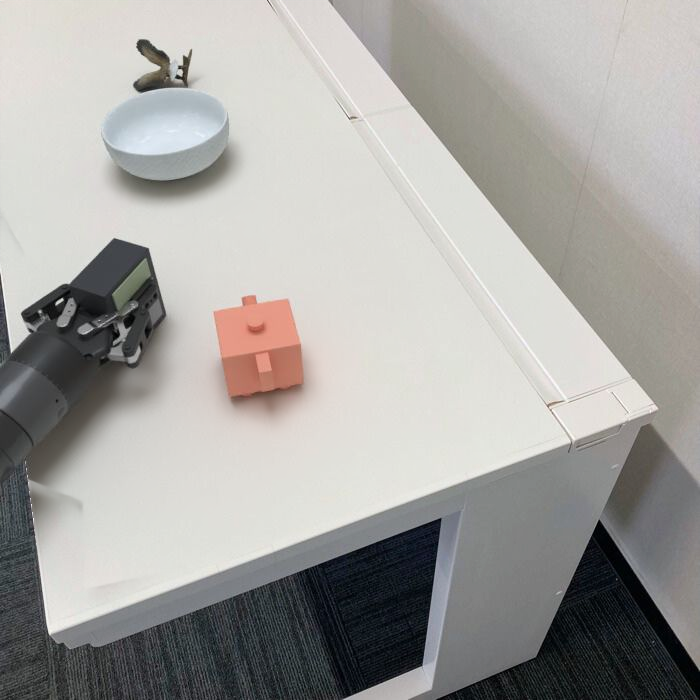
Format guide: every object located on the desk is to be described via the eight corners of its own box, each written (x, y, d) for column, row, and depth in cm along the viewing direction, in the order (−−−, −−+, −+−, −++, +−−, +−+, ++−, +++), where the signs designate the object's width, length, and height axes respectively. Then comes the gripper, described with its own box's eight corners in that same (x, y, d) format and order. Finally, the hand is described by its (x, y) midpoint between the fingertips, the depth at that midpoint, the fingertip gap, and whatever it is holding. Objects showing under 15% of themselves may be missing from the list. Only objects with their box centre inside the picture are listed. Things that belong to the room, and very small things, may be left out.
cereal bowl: (202, 117, 116) (194, 74, 111) (255, 172, 107) (249, 127, 102) (94, 154, 110) (81, 109, 105) (140, 215, 101) (128, 169, 95)
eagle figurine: (194, 62, 125) (138, 51, 124) (191, 38, 118) (131, 26, 117) (186, 105, 124) (129, 94, 123) (182, 84, 117) (122, 73, 116)
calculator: (93, 351, 85) (67, 285, 77) (134, 304, 90) (113, 237, 82) (128, 363, 84) (105, 297, 76) (168, 315, 88) (150, 248, 81)
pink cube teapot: (287, 323, 87) (281, 269, 81) (308, 404, 80) (304, 351, 74) (218, 335, 86) (207, 281, 80) (233, 419, 78) (222, 366, 72)
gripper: (83, 388, 69) (184, 269, 79) (-42, 342, 72) (69, 234, 83) (104, 437, 74) (195, 320, 85) (-14, 392, 78) (87, 285, 88)
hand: (132, 278), depth 84 cm, fingers closed on calculator, 4 cm apart
